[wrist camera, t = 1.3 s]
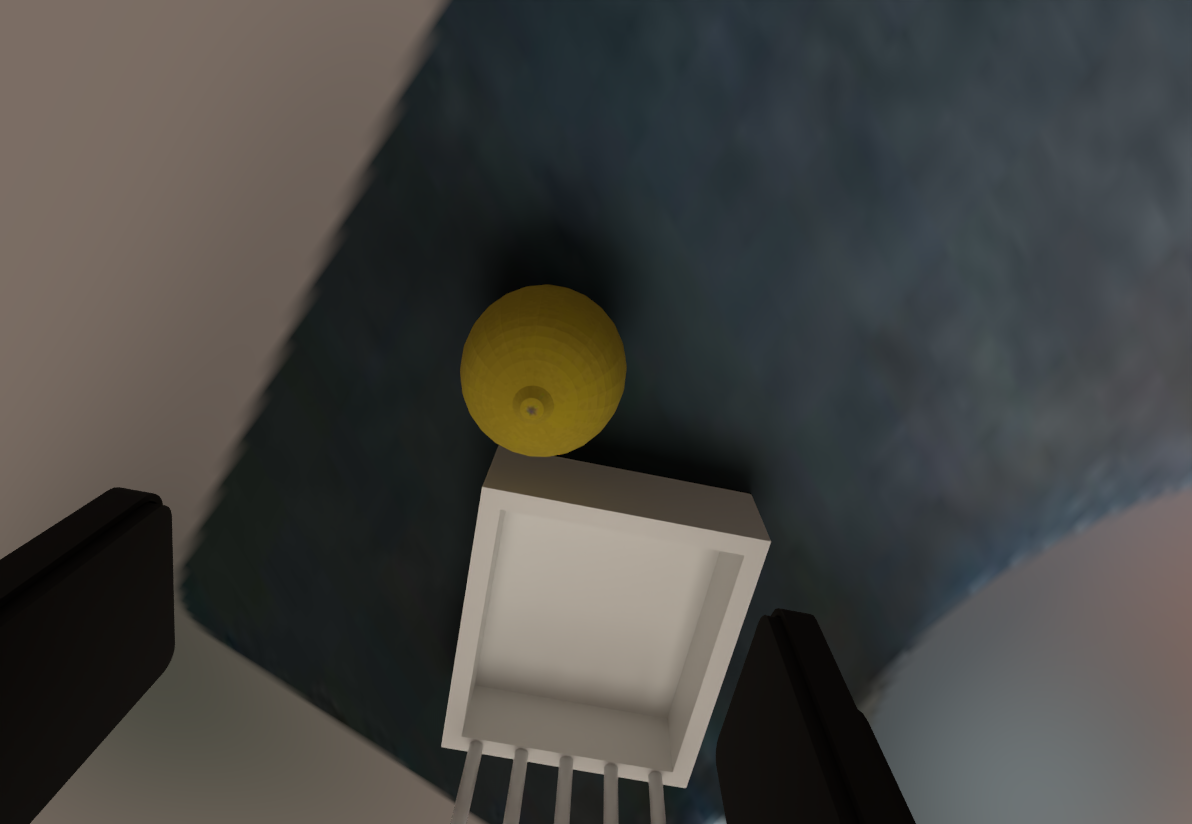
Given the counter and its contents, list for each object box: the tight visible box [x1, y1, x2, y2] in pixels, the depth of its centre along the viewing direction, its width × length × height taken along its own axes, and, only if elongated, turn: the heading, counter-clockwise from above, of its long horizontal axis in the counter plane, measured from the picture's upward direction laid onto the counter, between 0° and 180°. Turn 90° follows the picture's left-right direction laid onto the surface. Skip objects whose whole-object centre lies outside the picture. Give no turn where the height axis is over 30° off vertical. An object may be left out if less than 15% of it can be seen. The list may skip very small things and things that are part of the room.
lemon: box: [460, 284, 626, 457], centre depth 23 cm, size 6×6×8 cm
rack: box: [441, 445, 771, 824], centre depth 26 cm, size 13×11×9 cm
